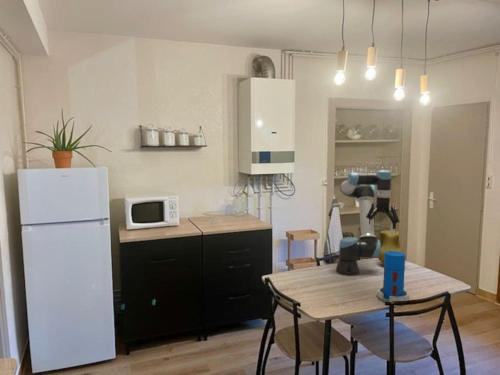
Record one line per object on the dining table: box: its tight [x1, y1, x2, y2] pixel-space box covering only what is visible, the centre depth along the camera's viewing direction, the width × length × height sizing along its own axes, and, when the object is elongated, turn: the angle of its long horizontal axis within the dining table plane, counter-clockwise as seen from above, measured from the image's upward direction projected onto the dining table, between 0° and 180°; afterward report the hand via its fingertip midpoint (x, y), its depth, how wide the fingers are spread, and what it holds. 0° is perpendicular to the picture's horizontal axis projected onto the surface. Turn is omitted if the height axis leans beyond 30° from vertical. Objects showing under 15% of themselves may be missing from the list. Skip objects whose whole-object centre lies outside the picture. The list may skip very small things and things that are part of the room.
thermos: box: [382, 251, 406, 299], centre depth 216 cm, size 11×11×25 cm
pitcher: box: [377, 230, 404, 268], centre depth 277 cm, size 17×19×25 cm
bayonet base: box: [376, 286, 410, 303], centre depth 217 cm, size 17×17×4 cm
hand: (381, 232), depth 230 cm, fingers open, 13 cm apart
